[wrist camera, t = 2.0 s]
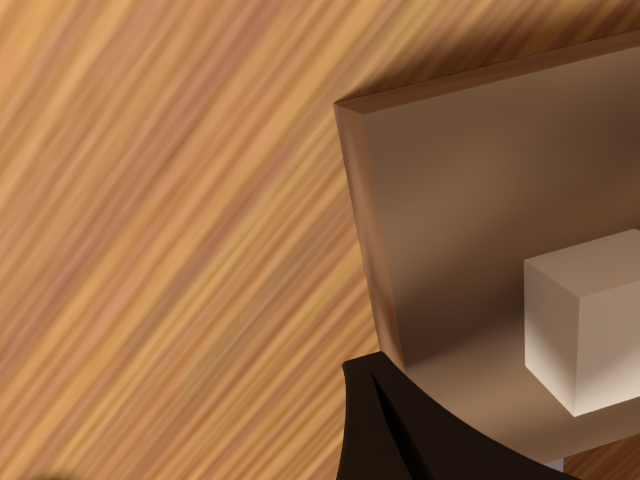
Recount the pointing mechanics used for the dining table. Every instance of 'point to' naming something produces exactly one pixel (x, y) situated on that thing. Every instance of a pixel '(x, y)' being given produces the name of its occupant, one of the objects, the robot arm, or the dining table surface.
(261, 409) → the dining table surface
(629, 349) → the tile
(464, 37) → the dining table surface
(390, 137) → the dark wooden board
